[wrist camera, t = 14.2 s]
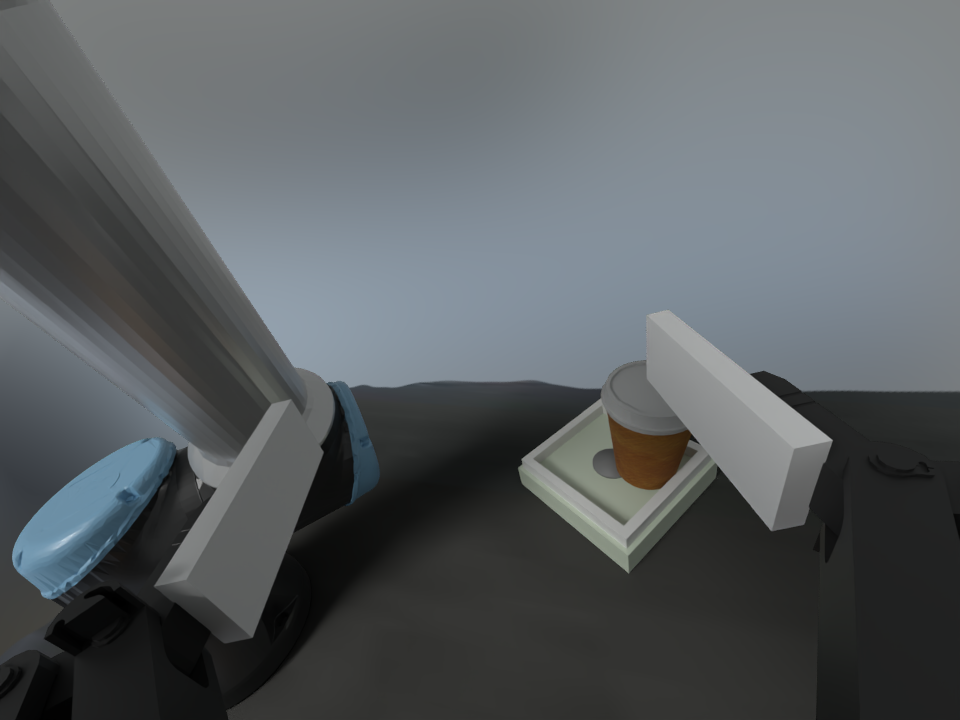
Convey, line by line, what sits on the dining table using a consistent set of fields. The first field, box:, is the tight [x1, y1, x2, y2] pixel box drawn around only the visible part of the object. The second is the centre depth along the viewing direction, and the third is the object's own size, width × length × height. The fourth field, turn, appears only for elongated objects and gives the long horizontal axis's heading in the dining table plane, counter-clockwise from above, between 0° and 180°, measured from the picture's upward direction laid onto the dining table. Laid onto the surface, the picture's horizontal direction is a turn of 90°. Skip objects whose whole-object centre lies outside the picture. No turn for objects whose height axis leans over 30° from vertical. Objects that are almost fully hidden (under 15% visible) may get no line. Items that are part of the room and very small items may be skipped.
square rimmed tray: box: [518, 399, 717, 573], centre depth 46 cm, size 16×16×4 cm
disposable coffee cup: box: [601, 360, 692, 490], centre depth 41 cm, size 10×10×12 cm
